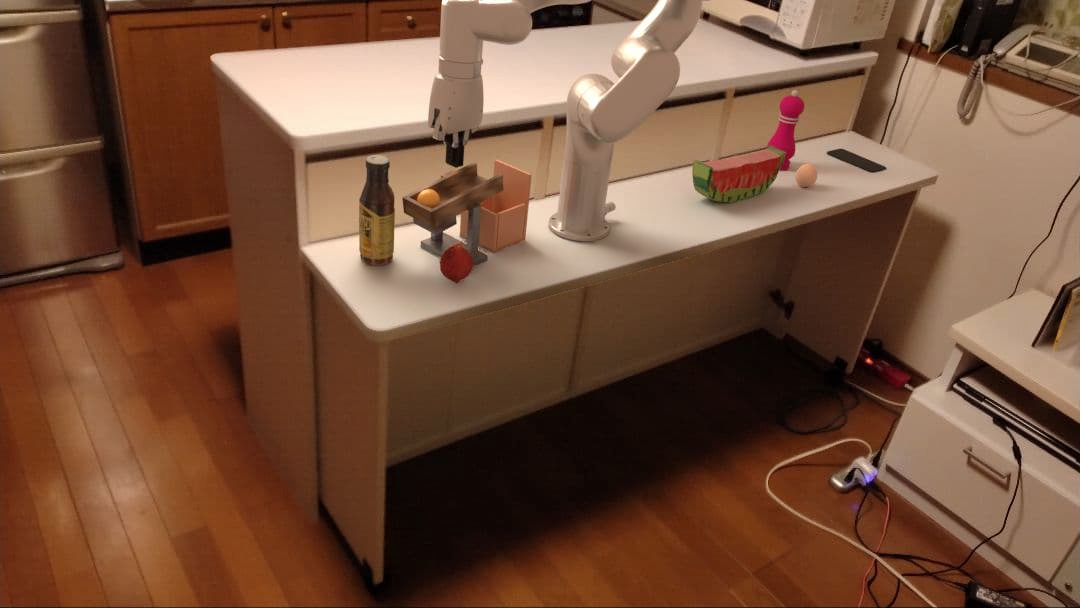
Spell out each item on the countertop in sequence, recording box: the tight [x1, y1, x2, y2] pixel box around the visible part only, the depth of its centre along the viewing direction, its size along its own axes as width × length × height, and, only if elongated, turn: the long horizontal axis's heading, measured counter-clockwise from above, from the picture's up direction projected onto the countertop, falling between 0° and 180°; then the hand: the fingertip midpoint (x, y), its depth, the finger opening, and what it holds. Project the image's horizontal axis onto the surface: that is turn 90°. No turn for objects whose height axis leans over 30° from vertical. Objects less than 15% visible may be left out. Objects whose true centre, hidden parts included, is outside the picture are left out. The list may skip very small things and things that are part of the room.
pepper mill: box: [766, 89, 805, 171], centre depth 211 cm, size 7×7×20 cm
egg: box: [795, 162, 818, 188], centre depth 204 cm, size 5×5×6 cm
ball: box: [417, 189, 440, 209], centre depth 147 cm, size 4×4×4 cm
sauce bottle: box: [358, 154, 396, 266], centre depth 148 cm, size 7×6×20 cm
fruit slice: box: [691, 145, 786, 204], centre depth 193 cm, size 26×6×10 cm, turn 126°
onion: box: [439, 241, 474, 284], centre depth 147 cm, size 6×6×8 cm
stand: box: [420, 203, 489, 268], centre depth 155 cm, size 6×12×12 cm, turn 49°
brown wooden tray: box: [401, 161, 503, 235], centre depth 153 cm, size 18×12×6 cm, turn 139°
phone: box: [826, 148, 887, 173], centre depth 226 cm, size 7×1×15 cm
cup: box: [459, 159, 533, 254], centre depth 162 cm, size 9×9×14 cm
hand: (454, 164), depth 157 cm, fingers closed
